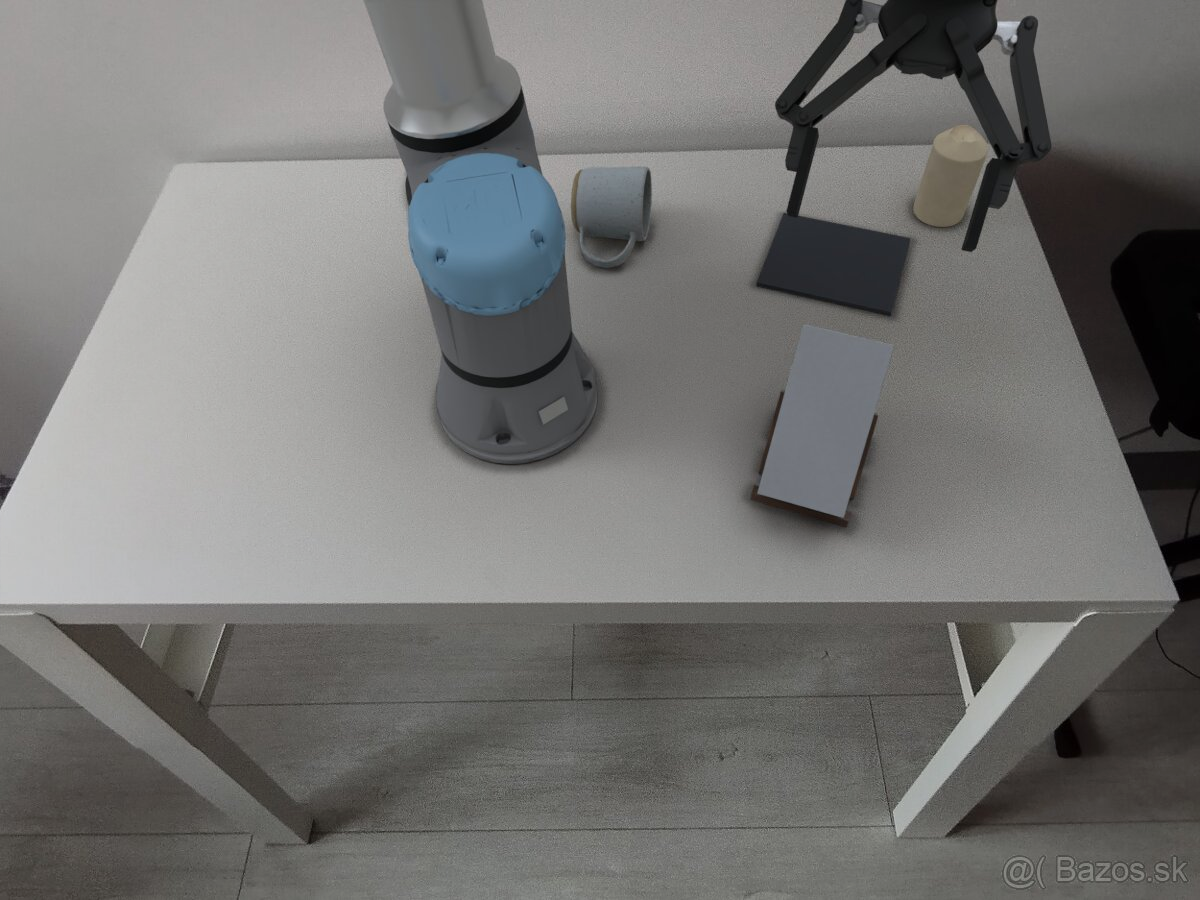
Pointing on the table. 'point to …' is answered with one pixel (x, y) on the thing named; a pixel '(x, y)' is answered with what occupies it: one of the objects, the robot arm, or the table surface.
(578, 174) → the ceramic mug
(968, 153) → the candle
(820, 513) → the phone stand
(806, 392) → the grey box
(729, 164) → the table surface
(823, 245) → the mat
